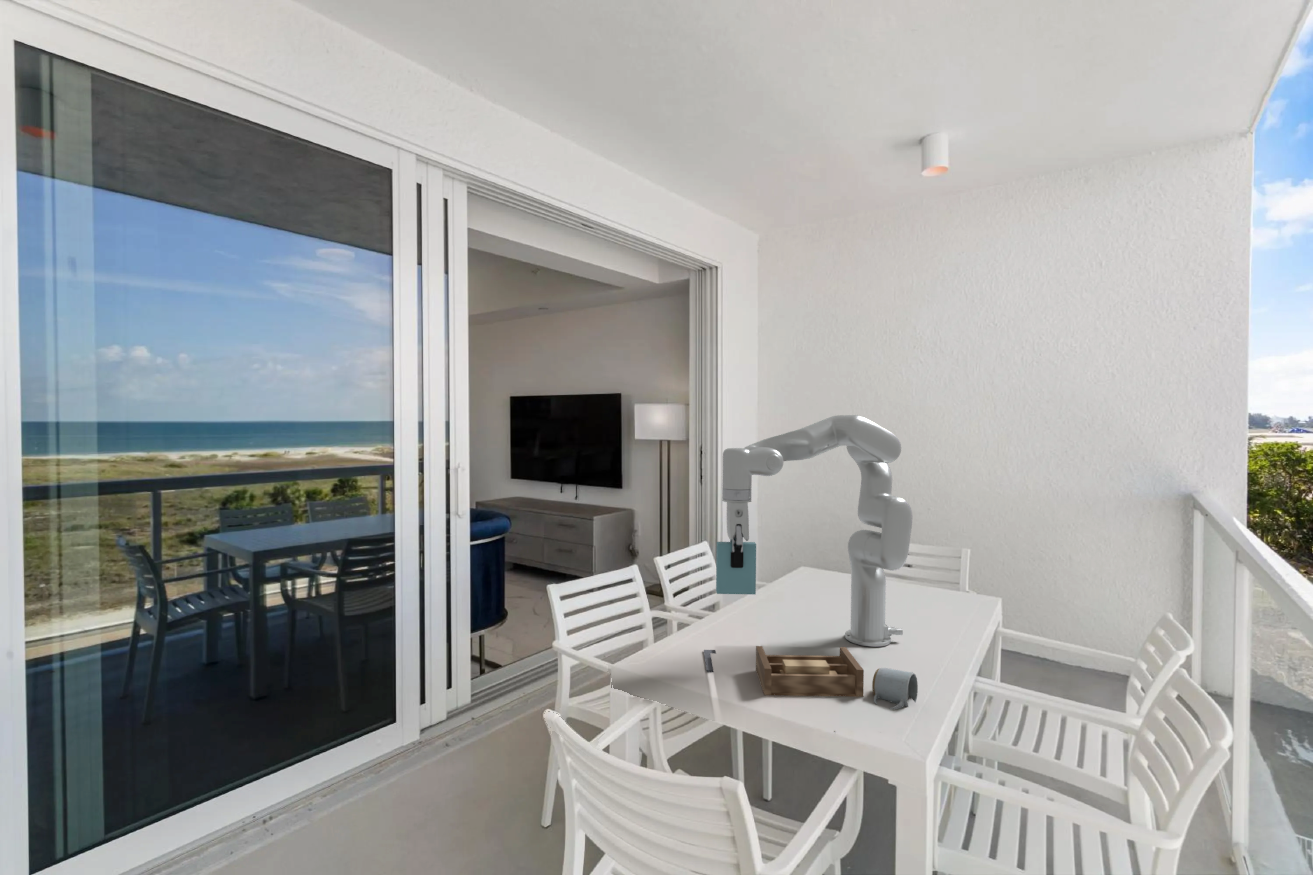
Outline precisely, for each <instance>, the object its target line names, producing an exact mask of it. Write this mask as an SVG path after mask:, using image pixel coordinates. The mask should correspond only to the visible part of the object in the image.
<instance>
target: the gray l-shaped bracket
mask: <svg viewBox="0 0 1313 875" xmlns="http://www.w3.org/2000/svg"><path fill="white" fill-rule="evenodd" d="M712 654H713V655H714V654H717V651H716V649H703V656H704V663H705V668H706V669H705V670H706V673H714V672H715V671H714V666H713V662H712Z"/></svg>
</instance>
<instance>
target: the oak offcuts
mask: <svg viewBox="0 0 1313 875" xmlns="http://www.w3.org/2000/svg"><path fill="white" fill-rule="evenodd" d="M779 674H837V673H836V671H830V666H829V665H828V663H827V662H826V660H783V670H779Z"/></svg>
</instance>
